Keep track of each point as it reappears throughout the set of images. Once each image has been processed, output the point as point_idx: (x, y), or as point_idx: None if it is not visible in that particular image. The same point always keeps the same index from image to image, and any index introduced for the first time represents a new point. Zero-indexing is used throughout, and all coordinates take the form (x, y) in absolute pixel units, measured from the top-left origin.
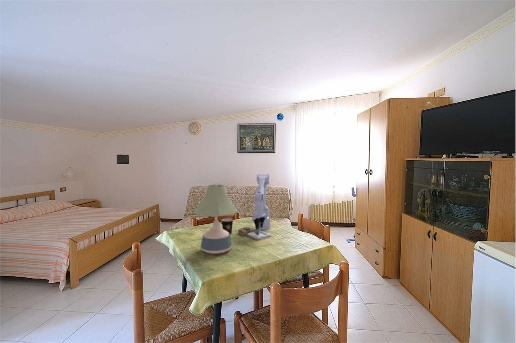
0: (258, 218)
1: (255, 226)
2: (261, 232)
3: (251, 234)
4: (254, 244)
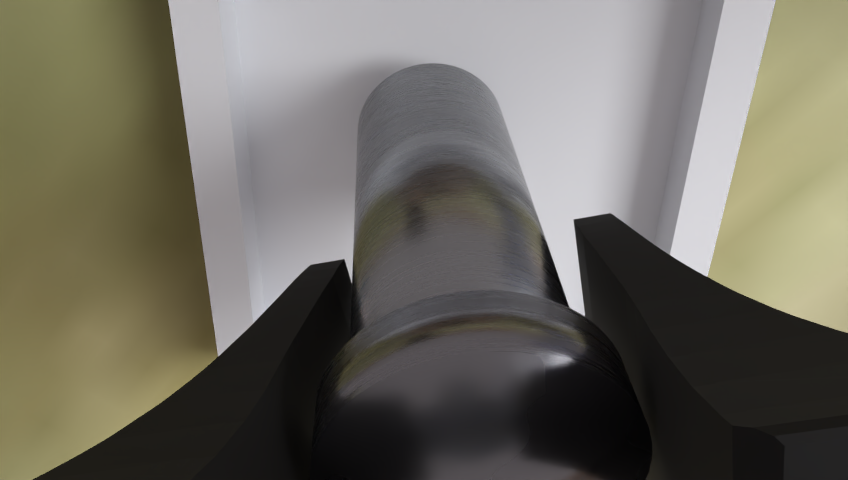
0: (714, 431)
1: (279, 303)
2: (703, 36)
3: (212, 85)
4: (33, 475)
